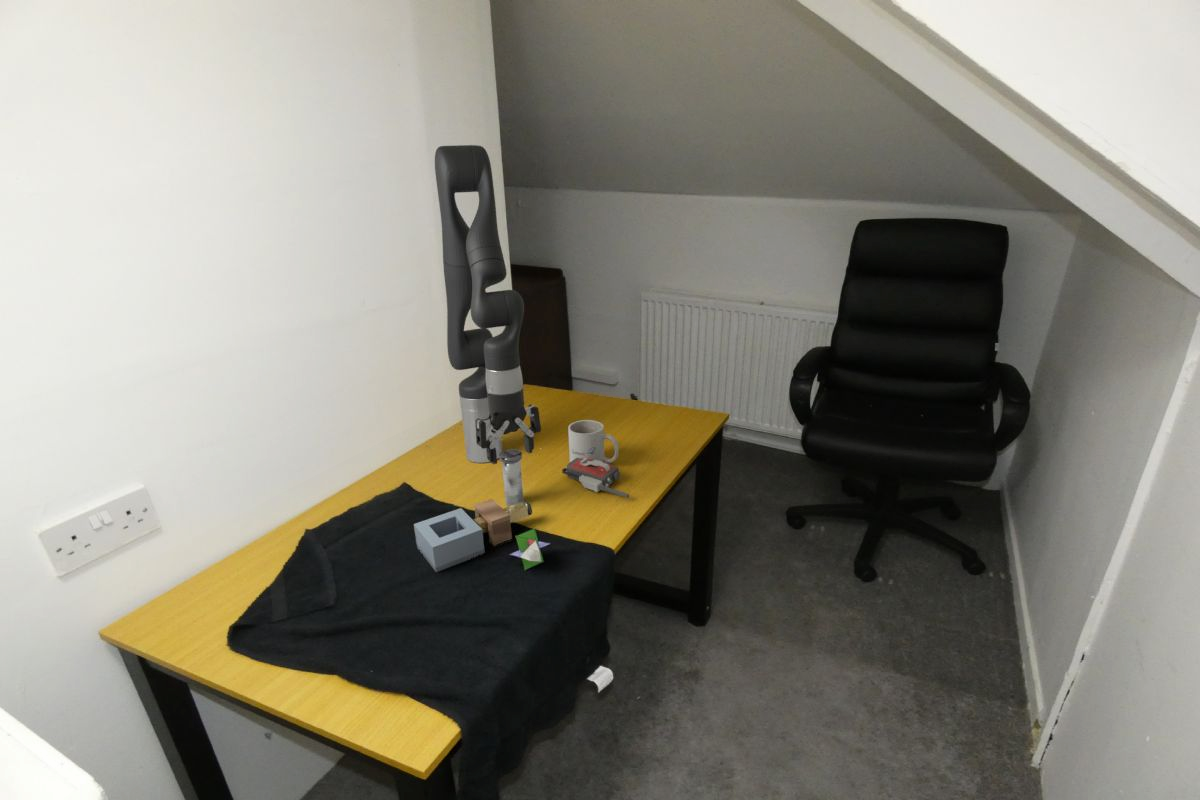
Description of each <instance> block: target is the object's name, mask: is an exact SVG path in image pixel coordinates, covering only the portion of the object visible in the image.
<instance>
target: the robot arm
mask: <svg viewBox="0 0 1200 800" xmlns="http://www.w3.org/2000/svg"><path fill="white" fill-rule="evenodd" d="M434 171H435V172H434V173H435V182H436V189H437V196H438V198H437V199H438V203H439V204H438V205H439V211H440V220H441V221H440V222H441V239H442V240H441V241H442V243H441V244H442V262H443V263H442V264H443V276H444V288H445V295H446V309H447V312H446V313H447V315H446V319H447V320H446V321H447V323H446V324H447V329H446V331H447V332H446V333H447V334H446V339H447V340H446V344H447V345H446V346H447V354H448V360H449V364H450V366H451V367H452V368H453V369H454V370H456V371H463V370H469V369H471V370H472V369H476V368H477V369H476V371H474V373H471V374H470V375H468V377H466V378H464V379H462V380H461V381H460V383H459V384H458V393H459V401H460V402H459V404H460V410H461V418H462V428H463V436H464V446H465V455H466V459H467V460H468V461H469V462H472V463H478V464H479V463H480V464H482V463H491V464H493V465H497V464H498V460H499V459H500V456H499V454H500V453H501V452H502V451H503V444H502V443H503V442H502V437H503V435H504V436H505V435H508V434H510V433H516V432H518V430H519V429H520V431H522V433H523V434H524V435H523V442H524V451H525V452H527V453H528V454H532V453H533V450H534V449H535V444H534V436H535V434H537V433H538V434H539V433H540V432H541V431H542V427H541V418H540V411H539V407H536V406H535V405H533V404H532V403H531V404H528V405H527V407H525V396H524V395H525V394H524V386H523V385H524V380H523V374H522V369H521V364H520V361H521V360H520V351H519V347H520V346H519V344H520V334H521V329H522V325H523V319H524V314H525V303H524V299H523V297H522V295H520V293H519V292H518V291H516V290H514V289H504V290H497V291H489V292H487V291H486V289H488V288H489V287H491V286H495V285H497V284H500V283H502V282H504V280H505V279H506V278H507V273H508V272H507V267H506V262H505V259H504V258H505V257H504V253H503V250H502V246H501V242H500V236H499V235H500V234H499V230H498V221H497V220H498V219H497V207H496V205H497V204H496V197H495V187H494V179H493V172H492V163H491V160H490V156H489V155H488V151H487V150H486V148H485V147H484V146H483V145H482V146H481V145H477V144H468V145H467V144H466V145H465V144H464V145H463V144H460V145H442V146H441V145H440V146H438V147H437V148H436V150H435V153H434ZM456 193H478V206H477V210H476V213H475V215H474V218H473V220H472V223H471V225H470V226H469V225H468V224H467V222H466V221H465V219H464V218H463V216H462V214H461V212H460V210H459V208H458V205H457V202H456V196H455V194H456ZM469 312H470V316H471V320H472V322H473V323H474V324H475V326H477V327H478V328H475V329H467V330H465V325H466V320H467V317H468V315H469ZM499 327H504V329H503V331H501V333H499V334H497V335H496V336H495V335H494V336H493V333H491V331H490V330H489V329H493V328H499ZM527 416H528V418H529V423H530V427H529V426H528V425H527V424H526V423H525V422H524V420H525V418H526V417H527Z"/></svg>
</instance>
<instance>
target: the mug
mask: <svg viewBox="0 0 1200 800" xmlns="http://www.w3.org/2000/svg"><path fill="white" fill-rule="evenodd" d="M567 430H568V448H569V449H568V450H569V451H568V452H569V463H570V462H571V461H573V460H574V459H576V458H584V459H585V458H587V459H593V460H598V461H602V463H603V462H605V463H608V464H611V463H614V462H615V461H616V460H617V458H618V455H619V449H620V448H619V444H618V441H617V439H616V438H615V437H614V436H613V435H612V434H608V433H607V434H606V433H604V430H605V429H604V424H603V423H602V422H599V421H597V420H593V419H582V420H581V419H580V420H576V421H575V422H574V421H573V422H571V423H570V424H569V425H568V427H567ZM605 440H609V441H611V442H612V444H613V446H614V455H613V457H612V458H609V457H606V456H605Z"/></svg>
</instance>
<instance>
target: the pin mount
mask: <svg viewBox="0 0 1200 800" xmlns="http://www.w3.org/2000/svg"><path fill="white" fill-rule="evenodd" d="M473 507H474V515H475V516H474V517H475V518H478V517H481V516H482V517H483V518H484V519H485V520H486V521H487V522H488V537H489V539H488V540H489V543H490V542H491V543H492V544H493V545H494V546H495V545H497V544H499V543H502V542H504V541H507V540H510V539H512V540H513V535H512V527H511V525H512V523H510V515H509V514H508V513H507V512H506V511H505V510H504V508H503V507H502V506H501V505H500V504H498V503H497V502H496V501H495V500H494V499H493V498H491V499H487V500H484V501H482V502H479V503H476V504H474V505H473ZM510 541H511V540H510ZM491 543H490V544H491ZM492 544H491V545H492ZM493 545H492V546H493ZM494 546H493V547H494ZM497 546H498V545H497ZM495 547H496V546H495Z"/></svg>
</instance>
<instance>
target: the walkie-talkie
mask: <svg viewBox="0 0 1200 800" xmlns="http://www.w3.org/2000/svg"><path fill="white" fill-rule="evenodd" d="M561 473H562V474H565V475H567V478H570V479H572V480H576V481H578V482H581V484H582V486H583V488H585V489H588V490H591V491H594V492H596V493H599V492H600V491H602V492H606V493H610V494H612V495H616V496H621V497H624V498H627V499H630V494H628V493H626V492H623V491H620V490H617V489H614V488H612V487H610V486H611V484H612V483H614V482H615V481H619V479H620V477H621V473H620V469H619V467H617V466H614V465H611V464H610V463H605V462H603V463H602V461H598V460H593V459H587V458H585V459H584V458H576V459H574V460H573V461H571V462H570V461H569V463H567V465H566V467H564V468H562V470H561Z"/></svg>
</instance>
